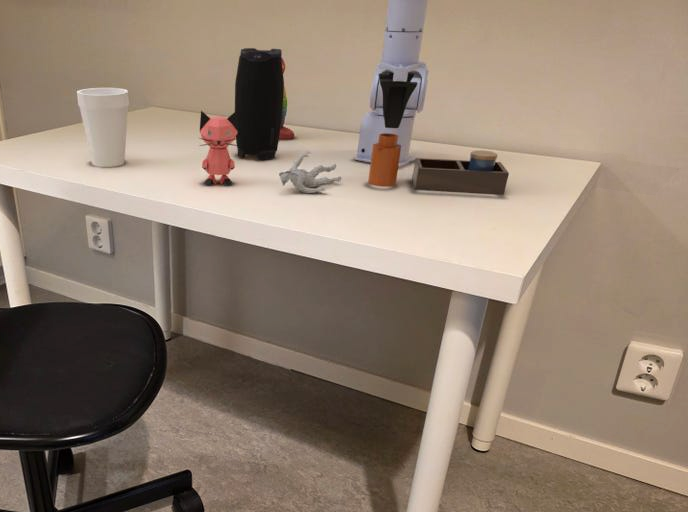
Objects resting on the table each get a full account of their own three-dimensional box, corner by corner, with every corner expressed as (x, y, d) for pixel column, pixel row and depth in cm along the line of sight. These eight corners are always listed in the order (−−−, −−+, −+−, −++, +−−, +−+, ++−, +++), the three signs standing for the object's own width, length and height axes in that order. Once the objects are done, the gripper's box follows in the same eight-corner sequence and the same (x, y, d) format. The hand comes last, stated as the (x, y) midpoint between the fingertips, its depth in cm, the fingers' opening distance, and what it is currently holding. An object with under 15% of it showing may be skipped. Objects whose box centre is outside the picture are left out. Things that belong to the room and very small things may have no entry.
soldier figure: (348, 193, 110) (308, 184, 102) (326, 208, 113) (286, 200, 105) (332, 155, 112) (292, 142, 103) (311, 170, 115) (270, 159, 106)
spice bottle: (363, 186, 111) (369, 135, 106) (376, 180, 114) (383, 131, 109) (387, 191, 108) (394, 139, 104) (399, 185, 111) (407, 134, 107)
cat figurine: (197, 187, 110) (197, 114, 103) (198, 177, 115) (197, 106, 109) (239, 187, 110) (240, 114, 103) (237, 177, 115) (239, 107, 109)
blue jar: (459, 187, 108) (466, 153, 105) (469, 182, 111) (476, 149, 108) (484, 192, 106) (492, 157, 103) (493, 186, 108) (501, 153, 105)
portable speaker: (228, 152, 132) (230, 48, 122) (271, 150, 134) (277, 47, 124) (240, 162, 125) (243, 51, 115) (286, 159, 127) (292, 50, 117)
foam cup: (141, 160, 126) (137, 89, 119) (116, 171, 119) (110, 96, 112) (100, 155, 130) (94, 86, 123) (74, 165, 122) (66, 93, 116)
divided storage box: (411, 181, 113) (415, 157, 111) (495, 186, 111) (500, 162, 109) (414, 193, 107) (418, 168, 105) (503, 198, 105) (509, 173, 103)
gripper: (435, 34, 92) (419, 133, 99) (426, 28, 104) (412, 116, 111) (385, 34, 93) (372, 131, 100) (382, 27, 105) (371, 114, 112)
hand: (390, 123), depth 105 cm, fingers open, 7 cm apart
